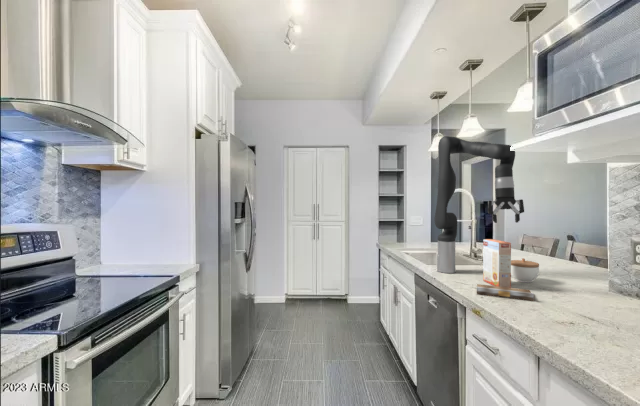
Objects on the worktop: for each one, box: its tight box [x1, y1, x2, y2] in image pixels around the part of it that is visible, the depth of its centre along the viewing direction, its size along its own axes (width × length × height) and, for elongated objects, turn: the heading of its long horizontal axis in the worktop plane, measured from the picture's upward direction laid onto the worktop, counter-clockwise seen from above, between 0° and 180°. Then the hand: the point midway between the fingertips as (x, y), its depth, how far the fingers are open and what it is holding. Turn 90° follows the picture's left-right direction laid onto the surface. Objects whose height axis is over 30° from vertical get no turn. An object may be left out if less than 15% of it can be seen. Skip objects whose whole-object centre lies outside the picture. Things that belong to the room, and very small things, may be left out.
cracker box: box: [482, 238, 512, 288], centre depth 146 cm, size 14×6×21 cm, turn 179°
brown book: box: [476, 283, 535, 302], centre depth 131 cm, size 20×12×3 cm, turn 62°
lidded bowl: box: [511, 258, 540, 284], centre depth 153 cm, size 13×13×11 cm
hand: (506, 222), depth 141 cm, fingers open, 8 cm apart
